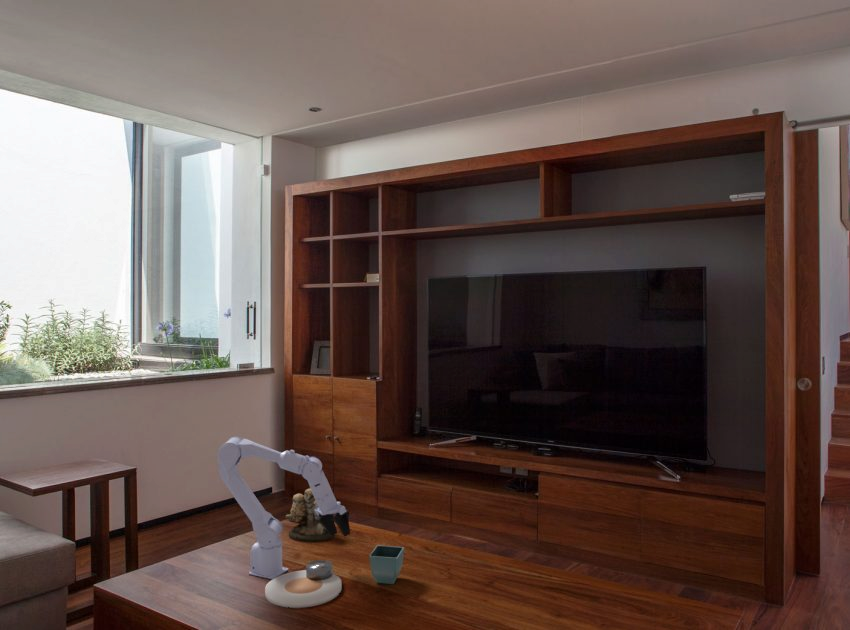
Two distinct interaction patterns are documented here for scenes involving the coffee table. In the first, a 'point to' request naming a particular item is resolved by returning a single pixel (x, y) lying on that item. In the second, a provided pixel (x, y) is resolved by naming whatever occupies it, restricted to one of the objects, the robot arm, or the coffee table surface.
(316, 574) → the cast cover
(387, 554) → the flower pot
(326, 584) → the turntable
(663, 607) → the coffee table surface
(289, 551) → the coffee table surface
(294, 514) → the owl figurine
